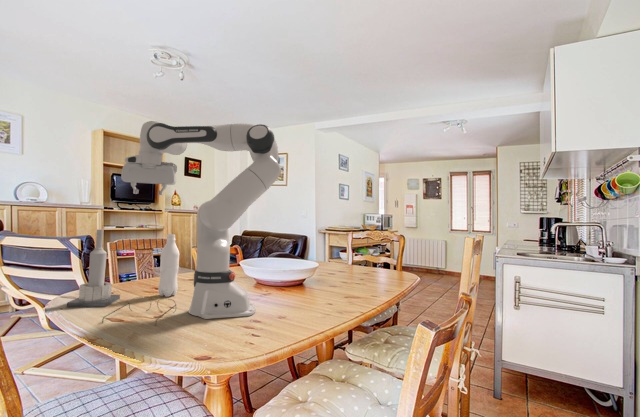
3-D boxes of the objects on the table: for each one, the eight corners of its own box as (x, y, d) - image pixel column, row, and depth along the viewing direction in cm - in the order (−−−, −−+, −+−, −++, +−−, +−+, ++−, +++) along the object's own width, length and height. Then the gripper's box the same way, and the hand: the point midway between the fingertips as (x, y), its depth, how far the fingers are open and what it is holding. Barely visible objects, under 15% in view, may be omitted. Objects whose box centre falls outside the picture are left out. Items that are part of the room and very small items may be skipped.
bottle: (92, 300, 114) (97, 230, 115) (83, 298, 116) (88, 229, 117) (107, 297, 119) (111, 229, 120) (97, 296, 121) (102, 229, 122)
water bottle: (161, 293, 135) (165, 233, 136) (179, 293, 136) (183, 234, 137) (155, 297, 128) (159, 234, 129) (173, 297, 129) (177, 235, 130)
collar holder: (119, 298, 124) (120, 281, 124) (105, 306, 112) (106, 288, 113) (84, 298, 122) (86, 281, 122) (66, 307, 110) (67, 287, 110)
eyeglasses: (177, 313, 110) (178, 298, 110) (155, 327, 95) (156, 310, 95) (130, 311, 110) (131, 296, 110) (101, 325, 95) (102, 308, 95)
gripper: (179, 164, 139) (177, 196, 138) (126, 160, 135) (124, 193, 134) (175, 161, 132) (173, 195, 132) (120, 157, 128) (118, 192, 128)
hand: (148, 194), depth 133 cm, fingers open, 8 cm apart
